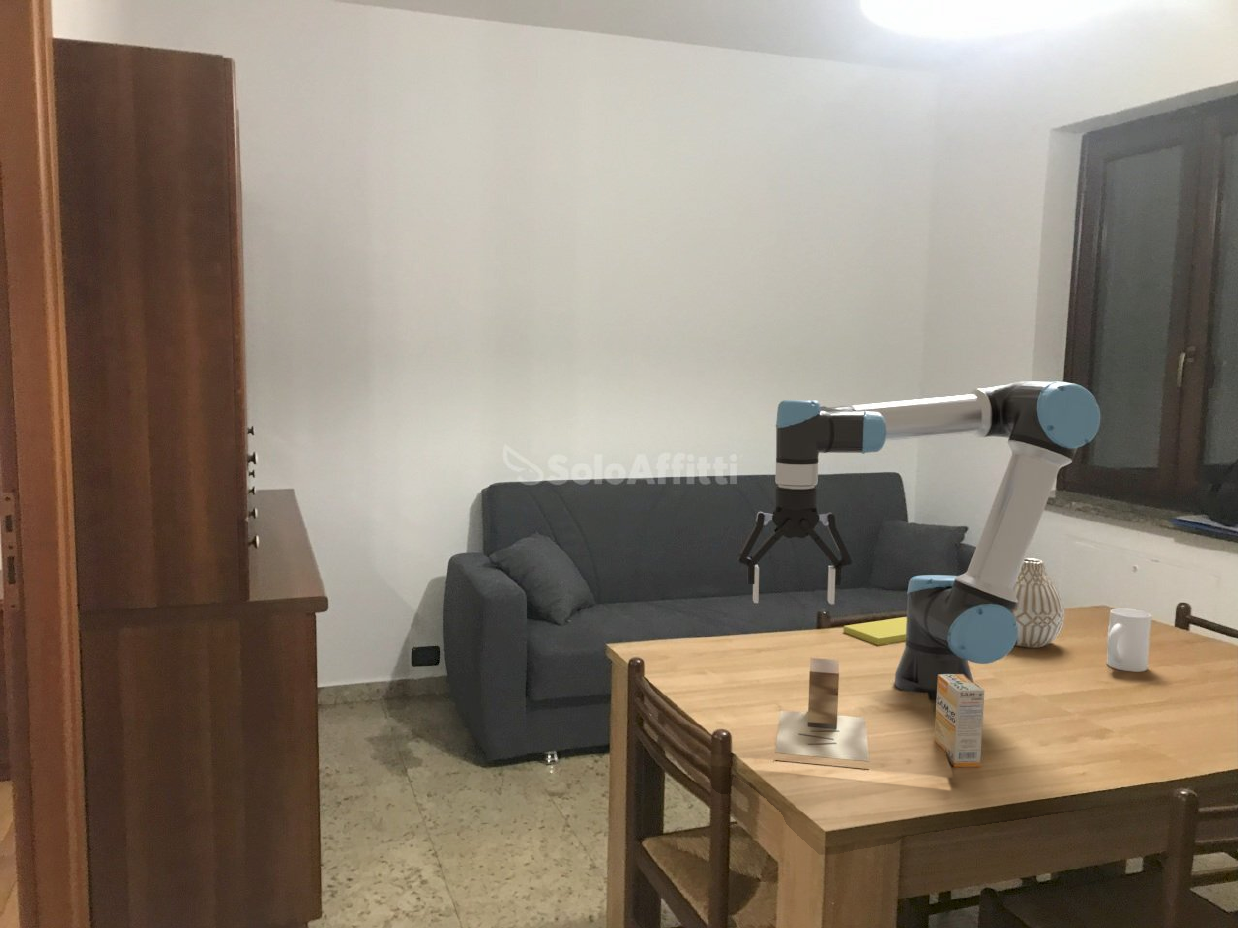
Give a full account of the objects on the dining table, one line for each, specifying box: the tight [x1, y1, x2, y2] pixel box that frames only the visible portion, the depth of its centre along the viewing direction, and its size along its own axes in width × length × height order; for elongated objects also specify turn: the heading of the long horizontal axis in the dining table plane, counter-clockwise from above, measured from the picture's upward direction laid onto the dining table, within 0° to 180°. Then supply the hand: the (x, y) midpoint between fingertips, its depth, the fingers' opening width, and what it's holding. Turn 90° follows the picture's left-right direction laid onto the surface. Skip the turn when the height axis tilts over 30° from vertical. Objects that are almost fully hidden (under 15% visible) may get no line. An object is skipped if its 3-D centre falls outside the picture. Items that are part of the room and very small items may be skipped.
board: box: [774, 710, 870, 771], centre depth 168 cm, size 15×20×2 cm
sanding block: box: [807, 657, 840, 729], centre depth 174 cm, size 5×8×10 cm, turn 168°
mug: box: [1106, 607, 1152, 673], centre depth 213 cm, size 8×12×12 cm
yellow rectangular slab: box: [843, 616, 907, 646], centre depth 239 cm, size 12×2×24 cm
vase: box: [1013, 557, 1065, 649], centre depth 231 cm, size 16×16×20 cm
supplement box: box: [934, 674, 985, 768], centre depth 162 cm, size 8×5×13 cm, turn 5°
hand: (793, 602), depth 177 cm, fingers open, 13 cm apart
